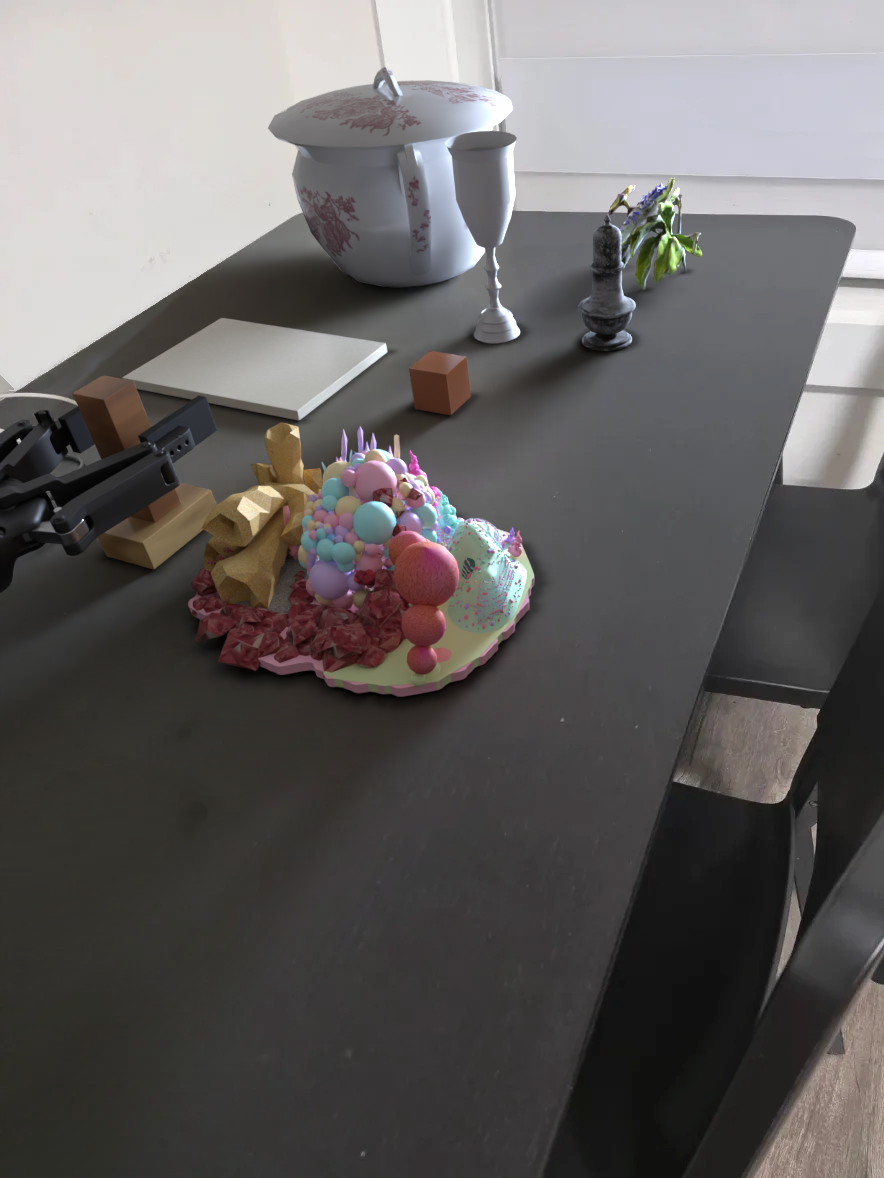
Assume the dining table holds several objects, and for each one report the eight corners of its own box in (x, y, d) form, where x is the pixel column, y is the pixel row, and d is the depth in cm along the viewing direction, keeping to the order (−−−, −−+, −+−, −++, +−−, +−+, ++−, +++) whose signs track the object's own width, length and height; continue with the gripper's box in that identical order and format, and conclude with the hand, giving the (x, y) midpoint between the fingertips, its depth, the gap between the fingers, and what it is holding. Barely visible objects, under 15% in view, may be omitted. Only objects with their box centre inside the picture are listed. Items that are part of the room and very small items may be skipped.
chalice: (465, 322, 100) (445, 133, 87) (526, 317, 100) (514, 128, 87) (466, 349, 94) (444, 153, 82) (530, 344, 95) (518, 148, 82)
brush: (106, 556, 71) (34, 406, 62) (174, 504, 76) (116, 359, 67) (154, 570, 69) (87, 418, 60) (220, 516, 74) (168, 368, 65)
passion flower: (622, 313, 113) (613, 211, 111) (709, 297, 110) (702, 192, 108) (605, 289, 102) (595, 175, 100) (702, 270, 99) (693, 152, 97)
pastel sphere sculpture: (138, 670, 61) (82, 558, 54) (278, 487, 77) (248, 383, 70) (493, 712, 56) (479, 595, 50) (564, 508, 72) (560, 399, 66)
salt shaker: (573, 350, 93) (570, 224, 84) (585, 327, 97) (583, 204, 88) (629, 353, 92) (632, 226, 83) (639, 330, 96) (642, 206, 87)
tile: (125, 386, 92) (121, 377, 92) (224, 326, 102) (221, 317, 102) (299, 420, 85) (296, 411, 84) (387, 352, 95) (386, 342, 94)
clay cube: (414, 408, 86) (408, 368, 83) (435, 390, 88) (429, 350, 85) (451, 415, 84) (445, 374, 82) (471, 397, 87) (466, 356, 84)
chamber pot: (381, 223, 125) (352, 40, 110) (559, 243, 116) (552, 46, 101) (254, 297, 108) (199, 91, 93) (451, 327, 99) (424, 104, 84)
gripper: (-154, 584, 61) (92, 429, 75) (61, 656, 54) (285, 471, 69) (-226, 487, 56) (53, 339, 70) (2, 554, 49) (259, 376, 63)
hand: (168, 405), depth 69 cm, fingers open, 7 cm apart
